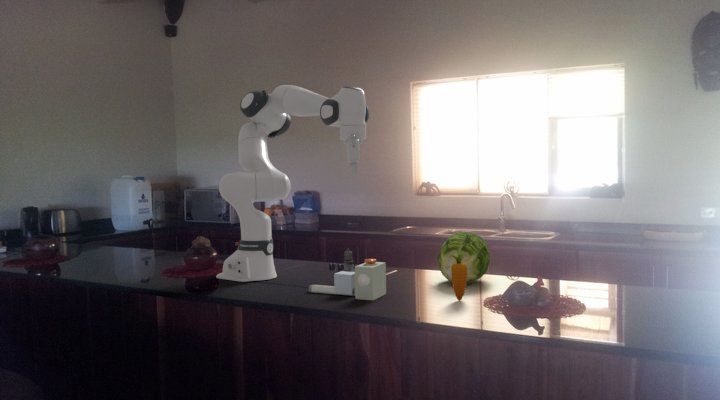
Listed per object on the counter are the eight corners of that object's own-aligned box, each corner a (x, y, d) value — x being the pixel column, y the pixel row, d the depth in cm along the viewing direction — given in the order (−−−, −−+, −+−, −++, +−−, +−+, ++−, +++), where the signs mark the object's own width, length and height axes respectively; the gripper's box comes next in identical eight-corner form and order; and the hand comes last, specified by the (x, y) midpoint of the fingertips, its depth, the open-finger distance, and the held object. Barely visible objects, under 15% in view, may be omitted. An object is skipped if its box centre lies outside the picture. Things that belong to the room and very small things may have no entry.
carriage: (334, 293, 187) (334, 273, 187) (341, 290, 192) (341, 271, 192) (351, 295, 185) (351, 274, 185) (358, 291, 189) (358, 272, 189)
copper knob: (363, 278, 184) (362, 260, 183) (367, 276, 187) (367, 258, 187) (373, 279, 182) (373, 260, 182) (378, 277, 185) (378, 259, 185)
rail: (308, 291, 193) (308, 285, 193) (312, 290, 195) (312, 284, 195) (360, 296, 185) (360, 290, 185) (363, 294, 187) (363, 288, 187)
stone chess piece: (355, 283, 206) (354, 249, 205) (338, 283, 207) (338, 248, 206) (358, 280, 212) (358, 246, 211) (342, 279, 213) (342, 246, 212)
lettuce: (425, 288, 197) (432, 240, 193) (442, 266, 218) (449, 222, 214) (477, 302, 191) (486, 252, 187) (490, 278, 213) (498, 232, 208)
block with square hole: (354, 299, 181) (354, 266, 181) (368, 292, 191) (368, 261, 190) (372, 300, 179) (372, 267, 178) (386, 293, 188) (385, 262, 188)
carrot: (464, 303, 174) (463, 252, 173) (448, 301, 176) (447, 251, 176) (470, 299, 178) (470, 250, 177) (454, 298, 181) (454, 249, 180)
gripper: (363, 133, 190) (364, 176, 190) (361, 136, 210) (362, 175, 211) (343, 133, 189) (344, 176, 190) (343, 136, 210) (344, 175, 211)
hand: (353, 176), depth 201 cm, fingers closed
